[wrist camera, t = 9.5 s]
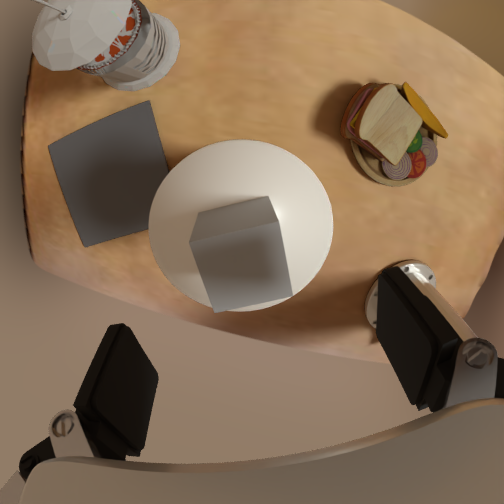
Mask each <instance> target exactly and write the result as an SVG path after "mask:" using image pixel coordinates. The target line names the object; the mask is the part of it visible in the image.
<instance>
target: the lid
mask: <svg viewBox="0 0 504 504" xmlns="http://www.w3.org/2000/svg"><path fill="white" fill-rule="evenodd" d="M148 226H149V239H150V245H151V249H152V252H153V255H154V257H155V260H156V262H157V264H158V266H159V268H160V269H161V271H162V272H163V274H164V275H165V276H166V278H167V279H168V280H169V281H170V282H171V283H172V284H173V285H174V286H175V287H176V288H177V289H178V290H179V291H181V292H182V293H183V294H185V295H186V296H188V297H189V298H191V299H193V300H195V301H196V302H198V303H201V304H203V305H206V306H208V307H212V308H213V310H214V313H217V312H222V311H239V312H240V311H253V310H259V309H264V308H267V307H271V306H274V305H276V304H279V303H281V302H283V301H285V300H287V299H289V298H291V297H292V296H293V295H295V294H296V293H298V292H299V291H301V290H302V289H303V288H304V287H305V286H306V285H307V284H308V283H309V282H310V281H311V280H312V279H313V278H314V277H315V275H316V274H317V273H318V271H319V270H320V268H321V267H322V265H323V263H324V261H325V259H326V257H327V254H328V252H329V249H330V245H331V241H332V234H333V215H332V209H331V204H330V201H329V199H328V196H327V193H326V191H325V189H324V187H323V185H322V183H321V182H320V180H319V179H318V178H317V176H316V175H315V173H314V172H313V171H312V170H311V169H310V168H309V167H308V166H307V165H306V164H305V163H304V162H302V161H301V160H300V159H298V158H297V157H296V156H294V155H293V154H291V153H290V152H288V151H286V150H284V149H283V148H280V147H278V146H275V145H273V144H270V143H266V142H262V141H258V140H249V139H232V140H226V141H220V142H216V143H213V144H210V145H207V146H205V147H203V148H201V149H199V150H197V151H195V152H193V153H191V154H190V155H189V156H187V157H186V158H184V159H183V160H182V161H181V162H180V163H179V164H177V165H176V166H175V167H174V168H173V169H172V170H171V171H170V172H169V174H168V175H167V176H166V177H165V179H164V180H163V182H162V183H161V185H160V187H159V188H158V190H157V192H156V194H155V197H154V199H153V202H152V206H151V210H150V214H149V224H148Z"/></svg>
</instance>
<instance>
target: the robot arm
mask: <svg viewBox="0 0 504 504" xmlns="http://www.w3.org/2000/svg"><path fill="white" fill-rule="evenodd" d="M365 314H366V317H367V319H368V321H369V323H370V324H371V325H372V326H373V327H374V328H375V329H376V334H377V338H378V340H379V342H380V344H381V345H382V347H383V349H384V351H385V353H386V355H387V357H388V359H389V361H390V363H391V365H392V367H393V368H394V371H395V372H396V374H397V376H398V379H399V381H400V383H401V385H402V387H403V389H404V391H405V393H406V395H407V397H408V399H409V401H410V403H411V404H412V405H415V404H416V406H417V408H418V411H420V410H422V409H425V408H427V407H429V409H430V411H431V412H433V413H432V414H429V415H426V416H423V417H420V418H418V419H415V420H413V421H411V422H408V423H405V424H402V425H399V426H397V427H394V428H391V429H388V430H385V431H382V432H379V433H376V434H373V435H370V436H366V437H363V438H360V439H356V440H353V441H349V442H345V443H342V444H338V445H334V446H330V447H326V448H321V449H317V450H312V451H307V452H302V453H297V454H291V455H285V456H279V457H273V458H265V459H257V460H248V461H237V462H224V463H202V464H166V463H146V462H133V461H126V459H125V458H126V455H128V456H137V457H139V456H140V452H141V450H142V449H143V448H144V446H145V441H146V436H147V431H148V426H149V421H150V416H151V411H152V406H153V402H154V397H155V393H156V388H157V384H158V373H157V371H156V370H155V368H154V367H153V365H152V363H151V362H150V360H149V359H148V357H147V355H146V354H145V352H144V351H143V349H142V347H141V346H140V344H139V342H138V341H137V339H136V337H135V335H134V334H133V332H132V330H131V329H130V328H129V327H128V326H126V325H125V324H123V323H121V324H114V325H110V326H109V327H108V329H107V331H106V333H105V335H104V337H103V339H102V341H101V343H100V345H99V347H98V350H97V352H96V354H95V356H94V358H93V360H92V362H91V365H90V367H89V369H88V371H87V374H86V376H85V378H84V381H83V383H82V385H81V388H80V390H79V392H78V395H77V397H76V399H75V402H74V404H73V406H74V407H75V408H76V411H75V412H73V411H72V410H63V411H60V412H58V413H57V414H56V415H55V416H54V417H53V419H52V420H51V422H50V424H49V435H50V436H49V437H48V438H46V439H45V440H43V441H42V442H40V443H39V444H37V445H36V446H34V447H33V448H31V449H30V450H29V451H27V452H26V453H25V454H23V456H22V457H21V460H20V463H19V470H20V472H19V471H16V472H15V473H14V474H13V476H12V477H11V478H10V479H9V480H8V482H7V483H6V484H5V485H4V487H3V488H2V489H1V490H0V504H504V359H502V358H498V355H497V351H496V349H495V347H494V346H493V345H492V344H491V343H490V342H489V341H487V340H485V339H482V338H478V337H477V336H476V335H475V334H474V332H473V331H472V330H471V329H470V328H469V326H468V325H467V324H466V323H465V321H464V320H463V319H462V318H461V317H460V316H459V314H458V313H457V312H456V311H455V310H454V309H453V307H452V306H451V305H450V304H449V303H448V302H447V301H446V300H445V298H444V297H443V296H442V295H441V294H440V293H439V292H438V291H437V290H436V278H435V275H434V272H433V271H432V270H431V268H430V267H428V266H427V265H426V264H425V263H423V262H421V261H416V260H409V261H405V262H401V263H399V264H396V265H394V266H393V267H391V268H387V269H384V270H383V271H382V274H380V275H379V276H378V279H377V280H376V281H375V283H374V284H373V286H372V287H371V289H370V291H369V293H368V295H367V298H366V301H365Z"/></svg>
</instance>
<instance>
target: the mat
mask: <svg viewBox="0 0 504 504" xmlns="http://www.w3.org/2000/svg"><path fill="white" fill-rule="evenodd" d="M48 147H49V151H50V154H51V158H52V161H53V164H54V168H55V171H56V174H57V177H58V180H59V183H60V186H61V189H62V192H63V195H64V197H65V200H66V203H67V205H68V208H69V211H70V213H71V216H72V218H73V221H74V223H75V226H76V228H77V231H78V233H79V235H80V238H81V240H82V242H83V245H84V247H88V246H91V245H95V244H98V243H101V242H105V241H108V240H111V239H115V238H118V237H122V236H125V235H129V234H132V233H136V232H139V231H143V230H146V229H149V226H148V224H149V214H150V210H151V206H152V202H153V199H154V197H155V194H156V192H157V190H158V188H159V187H160V185H161V183H162V182H163V180H164V179H165V177H166V176H167V175H168V174H169V169H168V165H167V162H166V158H165V155H164V151H163V148H162V144H161V141H160V137H159V134H158V130H157V126H156V123H155V119H154V115H153V111H152V107H151V104H150V101H146V102H143V103H140V104H138V105H135V106H132V107H130V108H127V109H125V110H122V111H120V112H117V113H115V114H113V115H110V116H108V117H106V118H103V119H101V120H99V121H97V122H94V123H92V124H90V125H88V126H86V127H84V128H82V129H80V130H78V131H76V132H74V133H72V134H70V135H68V136H66V137H64V138H62V139H60V140H58V141H56V142H54V143H53V144H51V145H49V146H48Z"/></svg>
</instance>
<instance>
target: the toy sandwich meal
mask: <svg viewBox="0 0 504 504" xmlns="http://www.w3.org/2000/svg"><path fill="white" fill-rule="evenodd" d="M341 135H342V137H344V138H348V139H350V140H351V145H352V149H353V152H354V155H355V157H356V160H357V161H358V163H359V165H360V166H361V168H362V169H363V170H364V172H365V173H366V174H367V175H368V176H370V177H371V178H372V179H374V180H375V181H377V182H379V183H381V184H384V185H387V186H403V185H407V184H410V183H412V182H414V181H415V180H417V179H418V178H420V177H421V176H422V175H423V174H424V173H425V172H426V170H427V169H428V168H429V167H430V166H432V165H433V164H434V163H435V162H436V160H437V157H438V150H437V147H436V146H437V135H438V136H440V137H442V138H447V137H448V134H447V132H446V131H445V129H444V128H443V126H442V125H441V124H440V122H439V121H438V119H437V118H436V117H435V115H434V114H433V113H432V112H431V110H430V109H429V107H428V105H427V104H426V102H425V101H424V100H423V99H422V98H421V97H420V96H419V95H418V94H417V93H416V92H415V91H414V90H413V89H412V88H411V87H410V86H409V84H408V83H406V82H405V83H404V84H403V85H398V84H391V83H385V84H382V85H380V86H379V85H378V84H376V83H368V84H366V85H364V86H363V87H362V88H360V89H359V90H358V91H357V92H356V94H355V95H354V96H353V98H352V99H351V101H350V102H349V104H348V106H347V108H346V110H345V113H344V116H343V119H342V123H341Z"/></svg>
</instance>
